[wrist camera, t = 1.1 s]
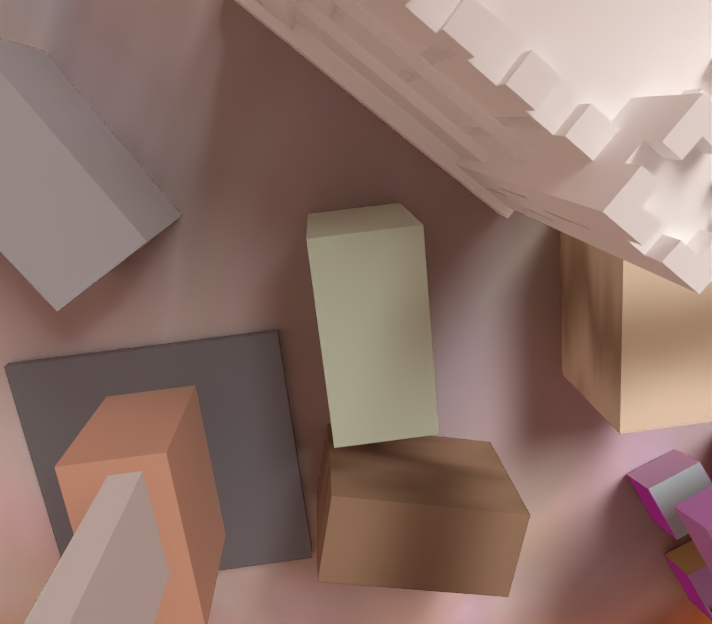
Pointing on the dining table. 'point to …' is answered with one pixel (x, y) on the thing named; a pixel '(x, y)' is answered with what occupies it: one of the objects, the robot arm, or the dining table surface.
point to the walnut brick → (419, 516)
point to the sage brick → (373, 323)
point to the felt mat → (220, 419)
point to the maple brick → (634, 341)
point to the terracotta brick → (156, 486)
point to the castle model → (541, 107)
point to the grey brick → (66, 182)
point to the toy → (682, 518)
